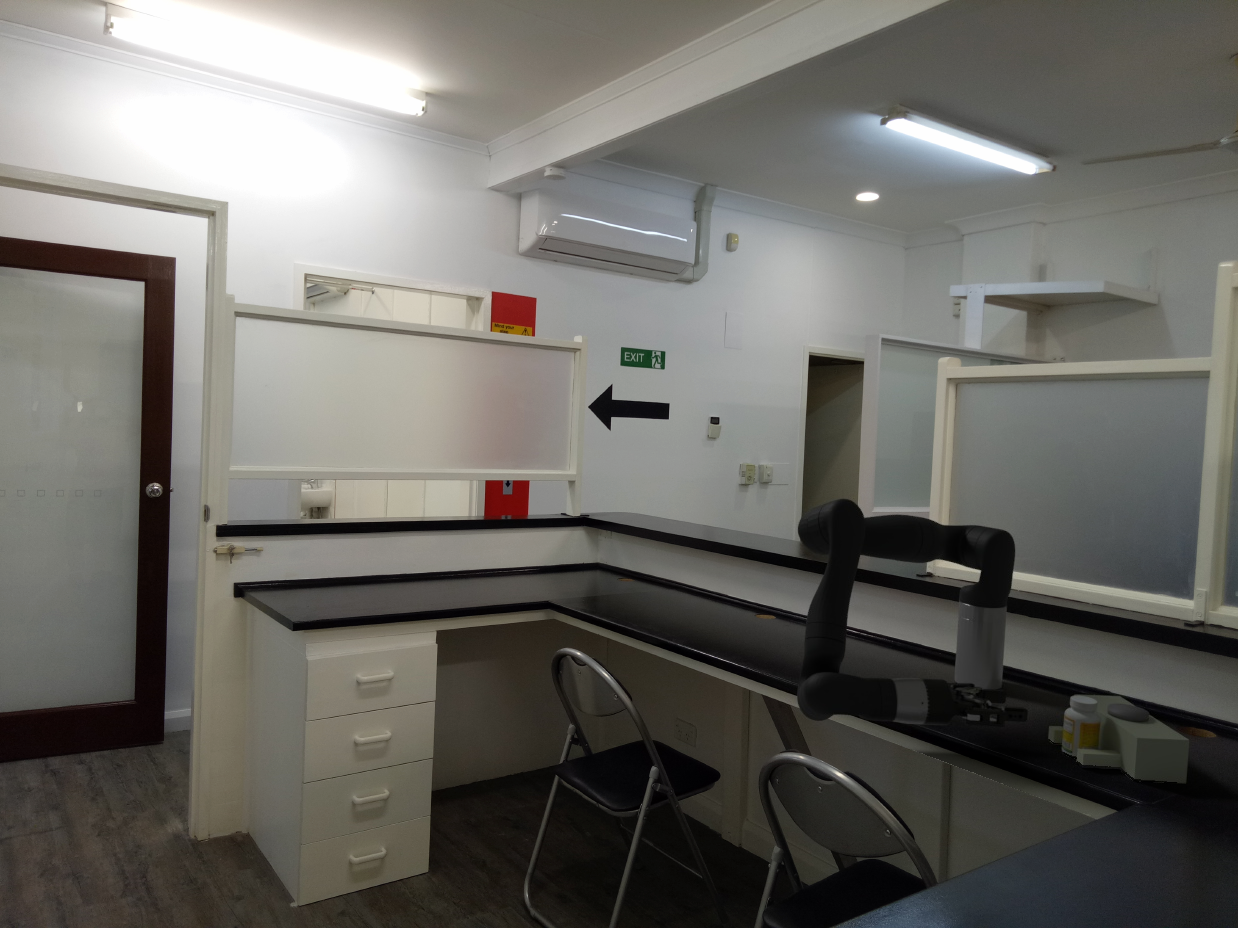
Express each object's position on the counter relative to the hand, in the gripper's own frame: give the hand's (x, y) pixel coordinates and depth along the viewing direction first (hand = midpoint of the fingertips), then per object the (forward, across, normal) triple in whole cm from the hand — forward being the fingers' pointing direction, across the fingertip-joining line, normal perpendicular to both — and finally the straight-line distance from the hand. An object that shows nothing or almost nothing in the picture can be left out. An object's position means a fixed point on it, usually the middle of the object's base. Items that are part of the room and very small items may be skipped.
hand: (1015, 705), depth 145 cm
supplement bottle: (+11, 0, +8) cm, 14 cm away
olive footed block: (+16, 0, +8) cm, 18 cm away
